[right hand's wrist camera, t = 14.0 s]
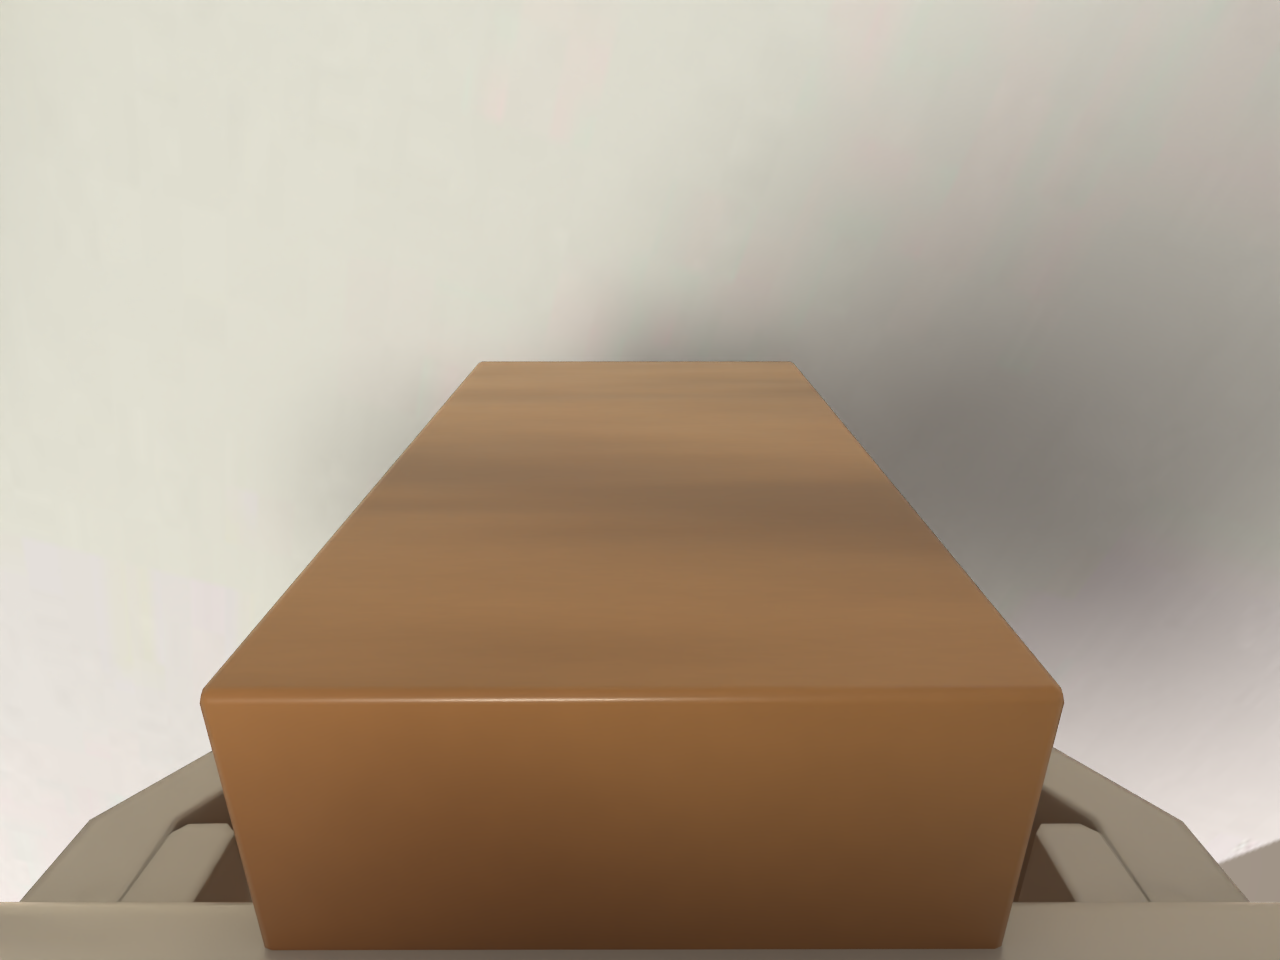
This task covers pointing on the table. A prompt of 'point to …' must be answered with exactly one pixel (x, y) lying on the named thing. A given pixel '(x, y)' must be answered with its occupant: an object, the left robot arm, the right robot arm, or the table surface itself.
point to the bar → (632, 689)
